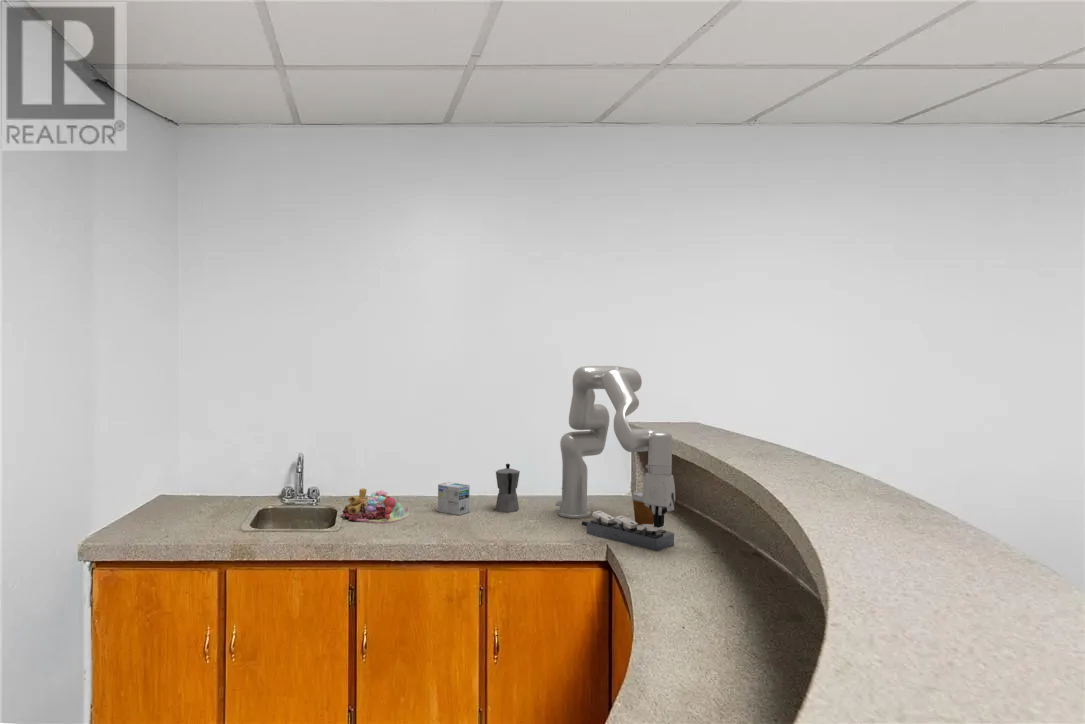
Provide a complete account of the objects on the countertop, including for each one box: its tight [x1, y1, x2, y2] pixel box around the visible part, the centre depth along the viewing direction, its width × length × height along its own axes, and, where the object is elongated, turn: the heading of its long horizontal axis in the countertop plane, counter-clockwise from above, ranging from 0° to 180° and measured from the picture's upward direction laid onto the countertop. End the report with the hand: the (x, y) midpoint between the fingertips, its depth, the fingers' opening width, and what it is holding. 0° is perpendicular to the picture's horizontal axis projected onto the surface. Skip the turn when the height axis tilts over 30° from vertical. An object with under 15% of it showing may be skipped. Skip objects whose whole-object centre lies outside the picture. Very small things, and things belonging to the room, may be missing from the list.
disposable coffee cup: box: [631, 490, 654, 525], centre depth 271 cm, size 10×10×12 cm
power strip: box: [581, 518, 675, 552], centre depth 257 cm, size 35×10×6 cm, turn 47°
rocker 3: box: [637, 524, 663, 531], centre depth 246 cm, size 7×4×1 cm, turn 47°
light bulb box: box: [437, 481, 471, 516], centre depth 288 cm, size 11×7×11 cm, turn 58°
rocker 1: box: [591, 510, 615, 523], centre depth 259 cm, size 7×4×1 cm, turn 47°
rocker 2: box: [614, 515, 638, 529], centre depth 253 cm, size 7×4×1 cm, turn 47°
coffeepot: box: [494, 463, 521, 513], centre depth 292 cm, size 15×9×18 cm, turn 9°
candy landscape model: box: [340, 487, 411, 524], centre depth 281 cm, size 25×24×9 cm
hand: (658, 526), depth 244 cm, fingers closed
